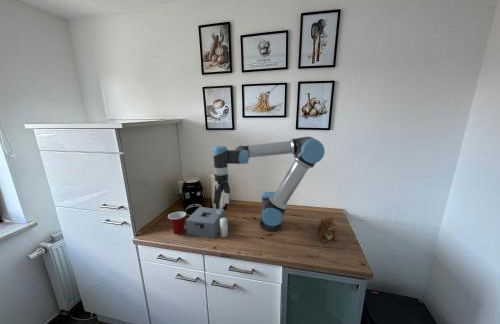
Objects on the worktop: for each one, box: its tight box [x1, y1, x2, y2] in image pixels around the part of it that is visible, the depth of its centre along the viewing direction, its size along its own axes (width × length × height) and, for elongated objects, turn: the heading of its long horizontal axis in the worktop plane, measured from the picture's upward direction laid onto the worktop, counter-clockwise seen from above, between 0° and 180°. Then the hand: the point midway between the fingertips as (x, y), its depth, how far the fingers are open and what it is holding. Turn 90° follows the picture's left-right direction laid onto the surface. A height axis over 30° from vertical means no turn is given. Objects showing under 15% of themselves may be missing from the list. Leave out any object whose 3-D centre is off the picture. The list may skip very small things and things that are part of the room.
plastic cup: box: [167, 211, 187, 235], centre depth 126 cm, size 11×11×12 cm
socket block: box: [185, 206, 225, 239], centre depth 129 cm, size 18×18×10 cm
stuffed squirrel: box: [316, 217, 338, 244], centre depth 119 cm, size 10×14×13 cm
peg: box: [219, 217, 229, 238], centre depth 121 cm, size 4×4×11 cm
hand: (222, 208), depth 118 cm, fingers open, 13 cm apart
